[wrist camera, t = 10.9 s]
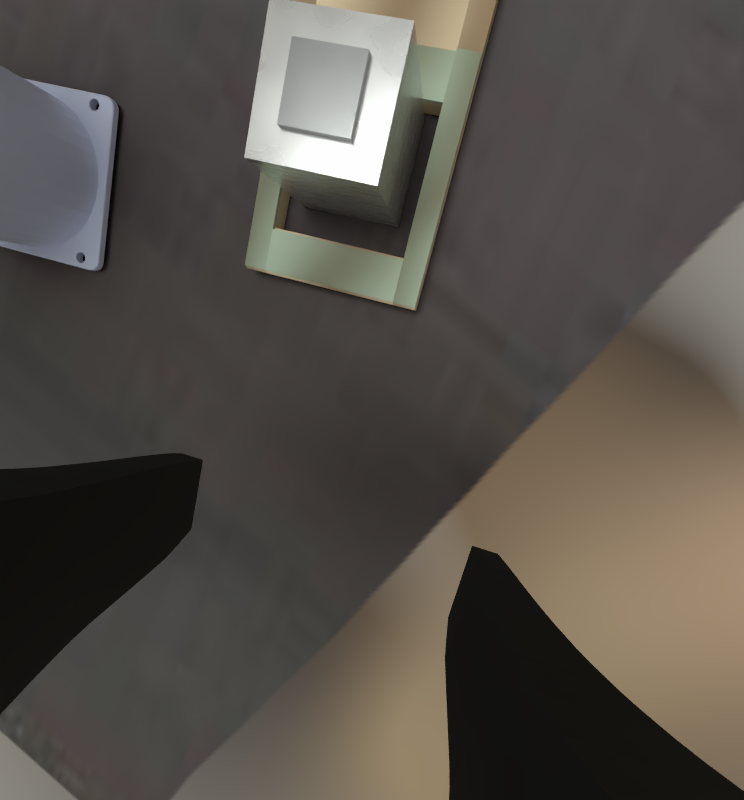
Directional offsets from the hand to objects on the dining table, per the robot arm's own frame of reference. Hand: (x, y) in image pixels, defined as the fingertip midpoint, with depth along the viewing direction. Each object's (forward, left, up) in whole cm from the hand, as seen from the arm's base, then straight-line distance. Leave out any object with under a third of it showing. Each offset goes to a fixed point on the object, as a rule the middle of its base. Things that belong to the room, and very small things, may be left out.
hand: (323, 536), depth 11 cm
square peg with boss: (-4, +12, -10) cm, 16 cm away
